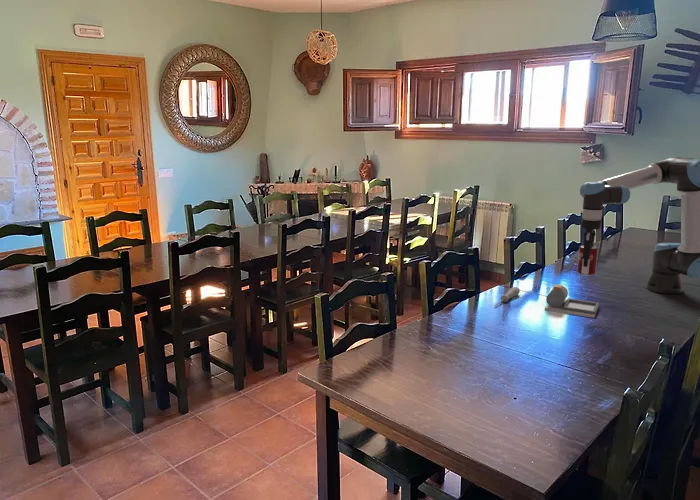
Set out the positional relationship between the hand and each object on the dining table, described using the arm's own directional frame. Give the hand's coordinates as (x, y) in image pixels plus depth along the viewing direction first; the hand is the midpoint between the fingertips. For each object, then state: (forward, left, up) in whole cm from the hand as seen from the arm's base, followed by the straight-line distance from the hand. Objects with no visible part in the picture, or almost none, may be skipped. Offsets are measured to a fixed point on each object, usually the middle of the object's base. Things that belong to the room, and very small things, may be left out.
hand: (586, 271), depth 224 cm
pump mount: (+4, 0, -18) cm, 18 cm away
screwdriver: (+32, +3, -18) cm, 37 cm away
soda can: (0, 0, -1) cm, 1 cm away
